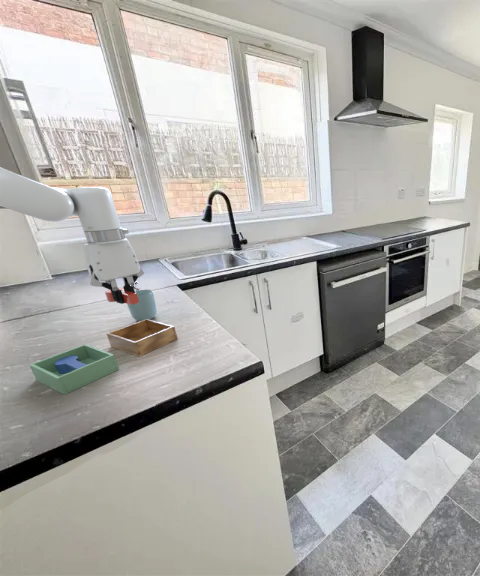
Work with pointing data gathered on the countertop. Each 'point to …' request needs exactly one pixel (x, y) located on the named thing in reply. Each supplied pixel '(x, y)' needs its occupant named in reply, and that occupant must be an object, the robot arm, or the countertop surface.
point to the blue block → (68, 364)
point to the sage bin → (95, 368)
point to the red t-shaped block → (124, 296)
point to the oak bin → (142, 337)
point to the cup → (143, 306)
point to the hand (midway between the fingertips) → (126, 300)
